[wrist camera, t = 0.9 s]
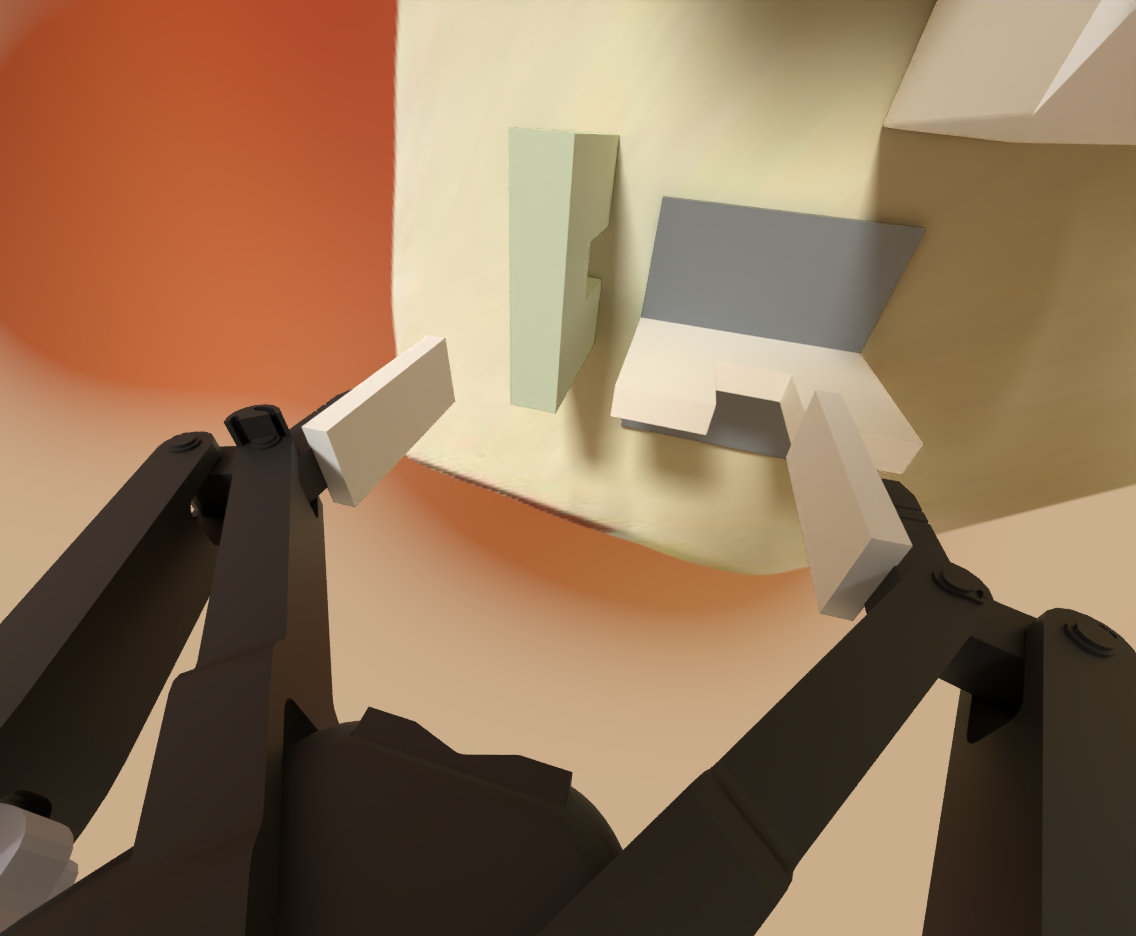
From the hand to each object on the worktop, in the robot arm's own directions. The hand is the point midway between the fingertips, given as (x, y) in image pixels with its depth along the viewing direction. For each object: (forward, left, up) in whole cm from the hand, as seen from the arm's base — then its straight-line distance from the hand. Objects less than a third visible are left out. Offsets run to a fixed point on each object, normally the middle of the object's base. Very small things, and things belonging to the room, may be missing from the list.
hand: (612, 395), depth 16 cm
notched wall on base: (+5, +7, -21) cm, 22 cm away
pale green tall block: (0, -6, -21) cm, 21 cm away
